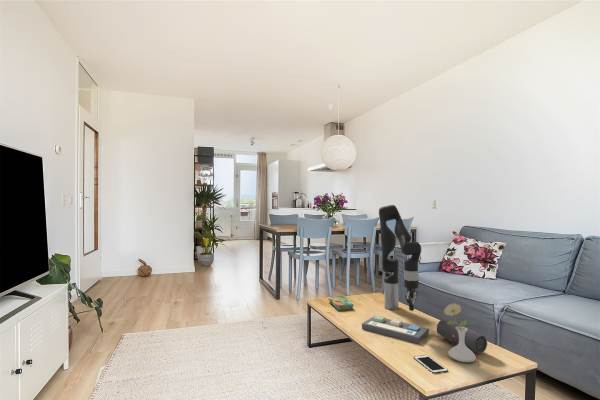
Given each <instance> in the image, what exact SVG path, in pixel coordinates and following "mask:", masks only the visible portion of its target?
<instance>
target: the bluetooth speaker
mask: <svg viewBox="0 0 600 400" xmlns="http://www.w3.org/2000/svg"><path fill="white" fill-rule="evenodd" d="M449 321H450V320H447V319H440V320H439V321H438V323H437V325H436V332H437V334H438V335H439V336H440V337H442V338H444V339H446V340H447V341H449V342H450V343H451V344H452V345H454V346H457V345H458V344H459V334H458V331H457V329H456V327H458V325H459V323H458V324H457V323H455V324H454V325H450V324H447V323H448V322H449ZM460 327H465V328H467V329H468V330H467V331H466V333H465V339H464V341H465V345H466V347H467V348H469V349H470V350H471V351H472V352H473V353H474V352H475V353H478V354H482V353H484V352H485V351H486V349H487V347H488V340H487V338H486V336H485V335H483V334H481V333H480V332H477V331H475V330H473V329H470V328H468V327H466V326H465V325H464V326H460Z"/></svg>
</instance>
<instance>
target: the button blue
mask: <svg viewBox="0 0 600 400" xmlns="http://www.w3.org/2000/svg"><path fill="white" fill-rule="evenodd" d="M413 325H414V324H412V325H410V326H409V327H408V330H411V331H416V332H418V331H419V330H420V327H417V326H418V325H416V326H413Z"/></svg>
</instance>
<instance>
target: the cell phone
mask: <svg viewBox="0 0 600 400" xmlns="http://www.w3.org/2000/svg"><path fill="white" fill-rule="evenodd" d="M413 359H414V360H415V362H416V363H418V364H420V365H421V366H422V367H424V368H425V369H426V370H427V369H428V370H427V371H429V372H430V373H431V372H432V373H431V374H433V373H437V374H442V373H441V372H444V373H448V372H449V370H448V368H447V367H445V366H444V365H443V364H441V363H440V362H438V361H437V360H435V358H433V357H432V356H430V355H428V354H422V355H415V356H413Z"/></svg>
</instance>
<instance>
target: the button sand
mask: <svg viewBox="0 0 600 400" xmlns="http://www.w3.org/2000/svg"><path fill="white" fill-rule="evenodd" d="M390 320H391V321H390V325H391V326H395V327H400V326H402V322H403V320H399V319H395V318H393V319H390Z"/></svg>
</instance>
